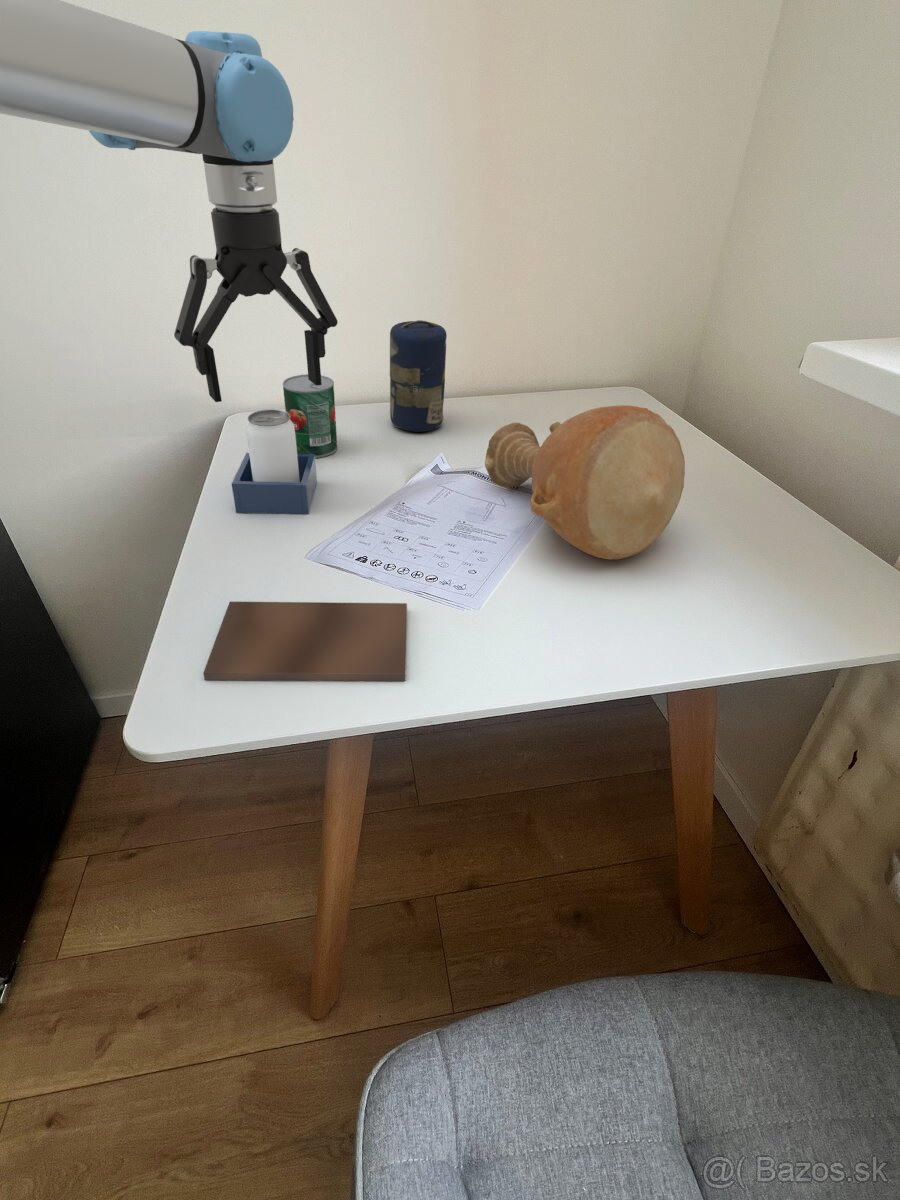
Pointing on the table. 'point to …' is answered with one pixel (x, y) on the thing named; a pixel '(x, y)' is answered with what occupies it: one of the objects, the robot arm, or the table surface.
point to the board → (310, 642)
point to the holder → (275, 490)
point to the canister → (417, 375)
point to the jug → (597, 476)
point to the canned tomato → (312, 414)
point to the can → (272, 447)
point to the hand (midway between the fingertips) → (266, 390)
